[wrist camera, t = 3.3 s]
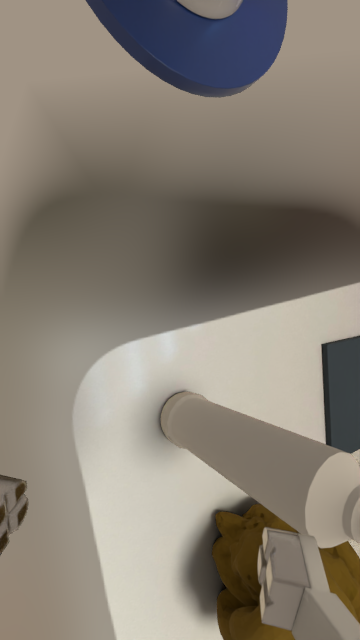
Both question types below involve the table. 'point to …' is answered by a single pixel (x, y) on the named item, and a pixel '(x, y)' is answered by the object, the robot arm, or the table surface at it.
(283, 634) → the gourd
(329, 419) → the slate mat
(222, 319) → the table surface
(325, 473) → the bottle
